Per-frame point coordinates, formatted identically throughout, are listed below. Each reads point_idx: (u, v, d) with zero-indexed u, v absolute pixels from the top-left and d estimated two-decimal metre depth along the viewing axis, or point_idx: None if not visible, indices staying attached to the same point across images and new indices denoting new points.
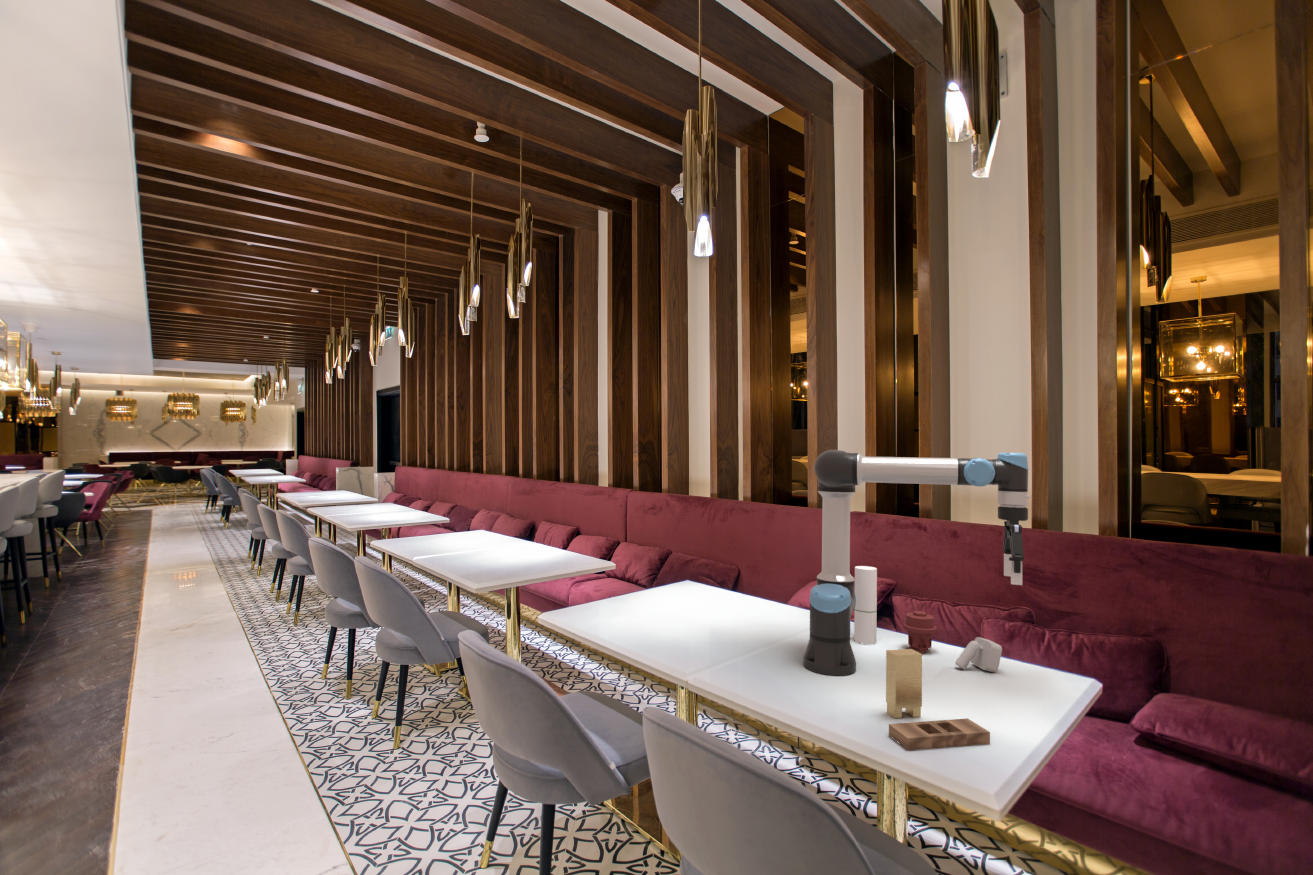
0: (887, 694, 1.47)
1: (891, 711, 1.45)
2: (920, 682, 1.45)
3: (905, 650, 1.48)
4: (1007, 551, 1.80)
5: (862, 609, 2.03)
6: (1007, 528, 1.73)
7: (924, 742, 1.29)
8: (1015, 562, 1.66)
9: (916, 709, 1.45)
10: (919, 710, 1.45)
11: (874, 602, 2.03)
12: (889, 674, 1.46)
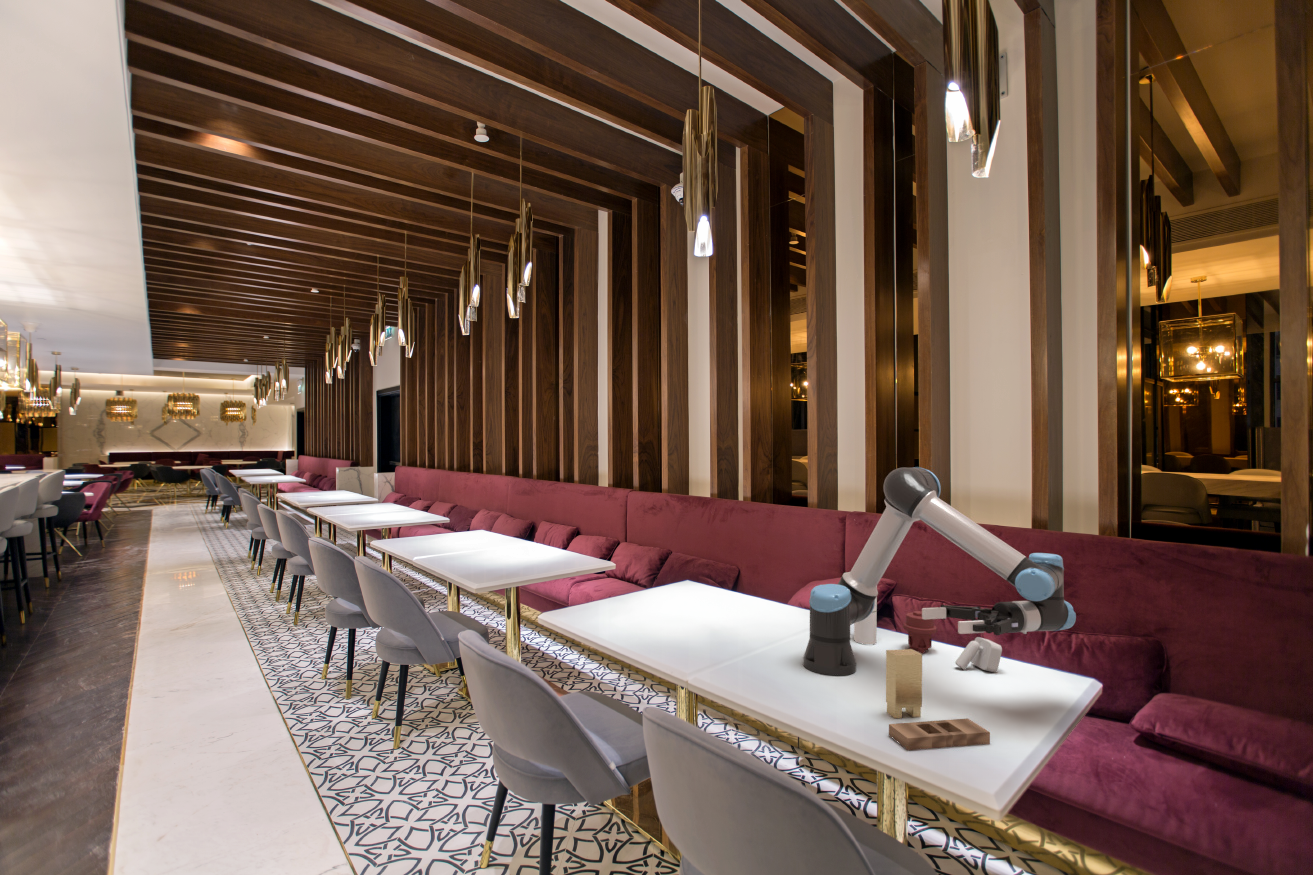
0: (887, 694, 1.47)
1: (891, 711, 1.45)
2: (920, 682, 1.45)
3: (905, 650, 1.48)
4: (946, 610, 1.57)
5: None
6: (998, 613, 1.50)
7: (924, 742, 1.29)
8: (986, 626, 1.42)
9: (916, 709, 1.45)
10: (919, 710, 1.45)
11: None
12: (889, 674, 1.46)
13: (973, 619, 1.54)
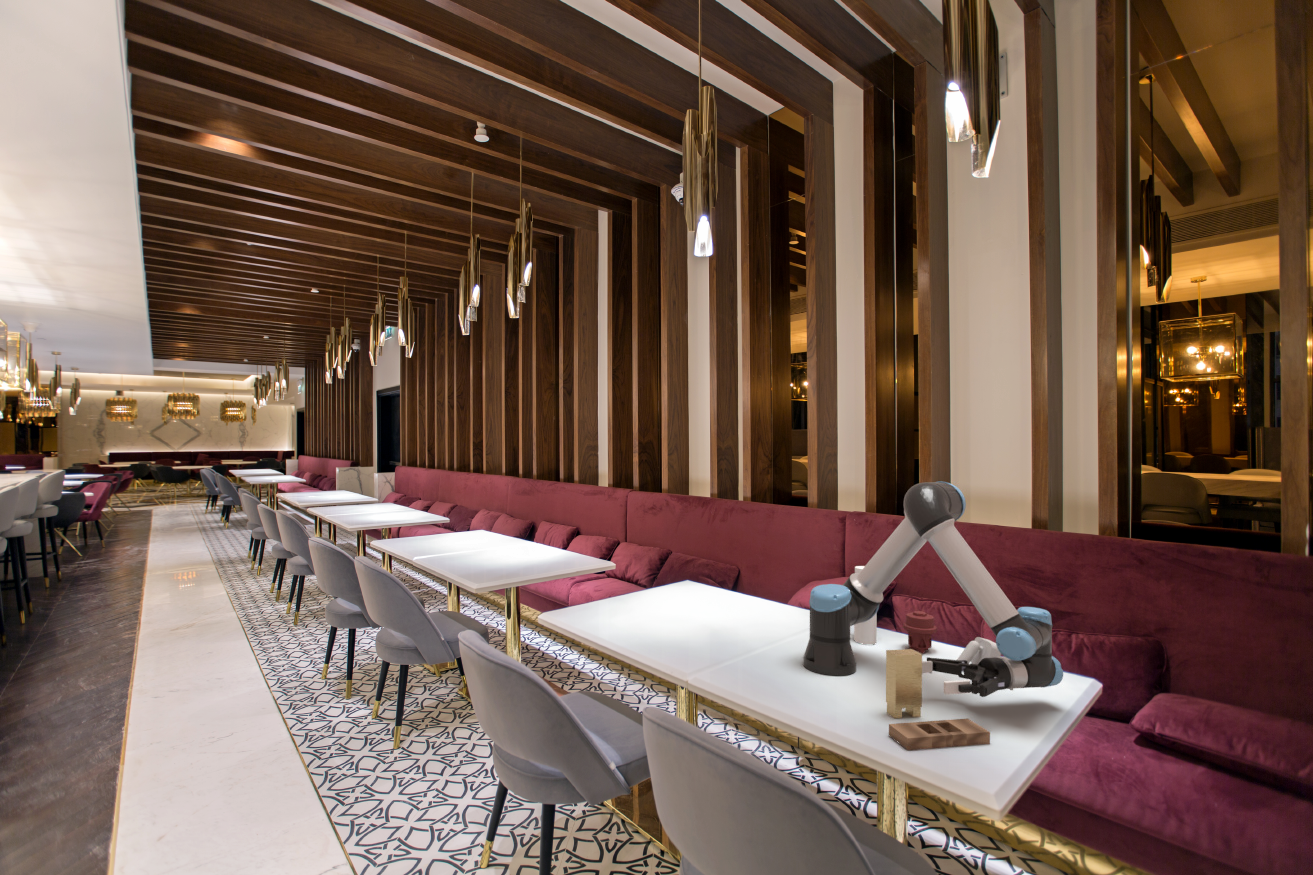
0: (887, 694, 1.47)
1: (891, 711, 1.45)
2: (920, 682, 1.45)
3: (905, 650, 1.48)
4: (933, 664, 1.55)
5: None
6: (985, 670, 1.48)
7: (924, 742, 1.29)
8: (972, 686, 1.40)
9: (916, 709, 1.45)
10: (919, 710, 1.45)
11: None
12: (889, 674, 1.46)
13: (959, 674, 1.52)
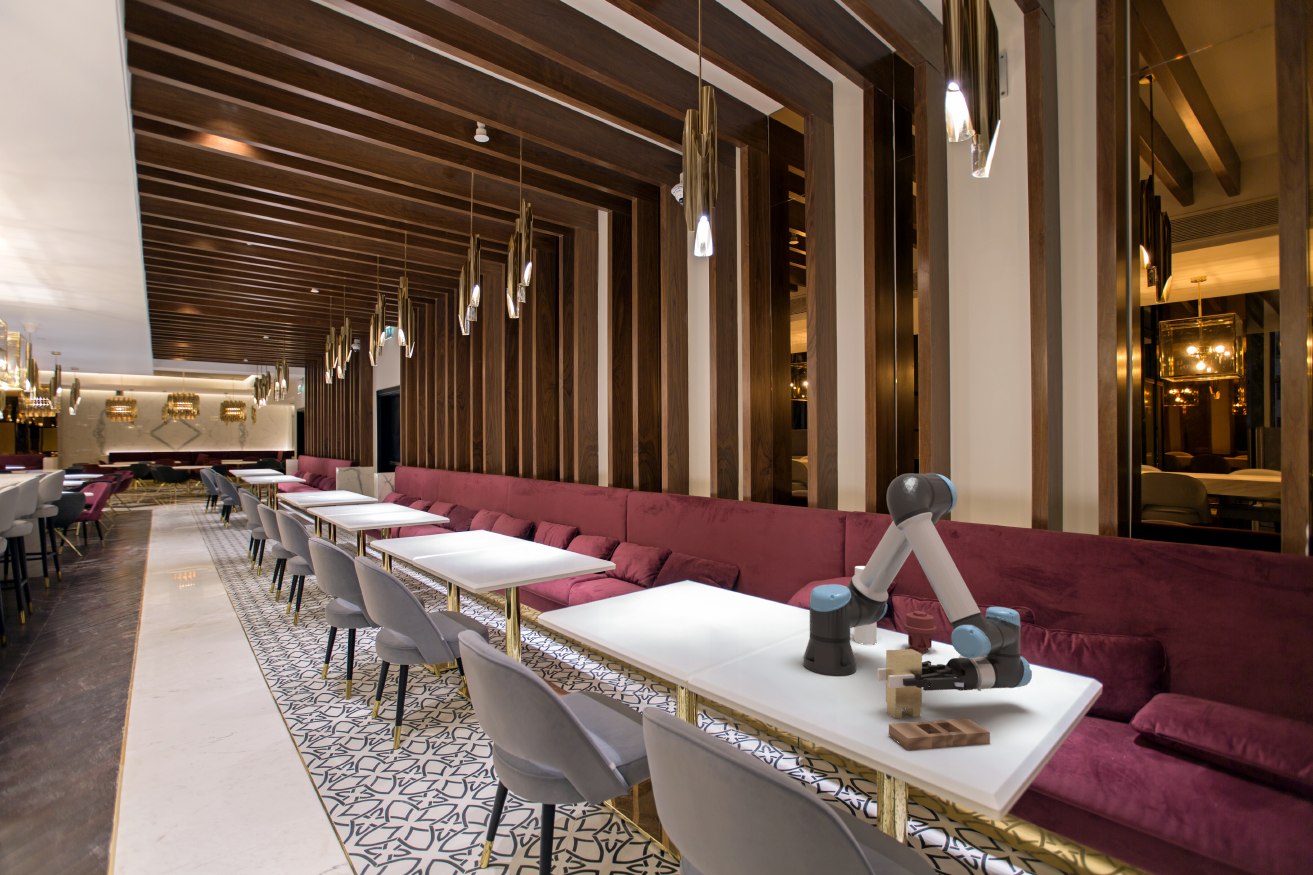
0: (887, 694, 1.47)
1: (891, 711, 1.45)
2: None
3: (905, 650, 1.48)
4: None
5: None
6: (950, 671, 1.47)
7: (924, 742, 1.29)
8: (916, 680, 1.43)
9: (916, 709, 1.45)
10: (919, 710, 1.45)
11: None
12: (889, 674, 1.46)
13: None
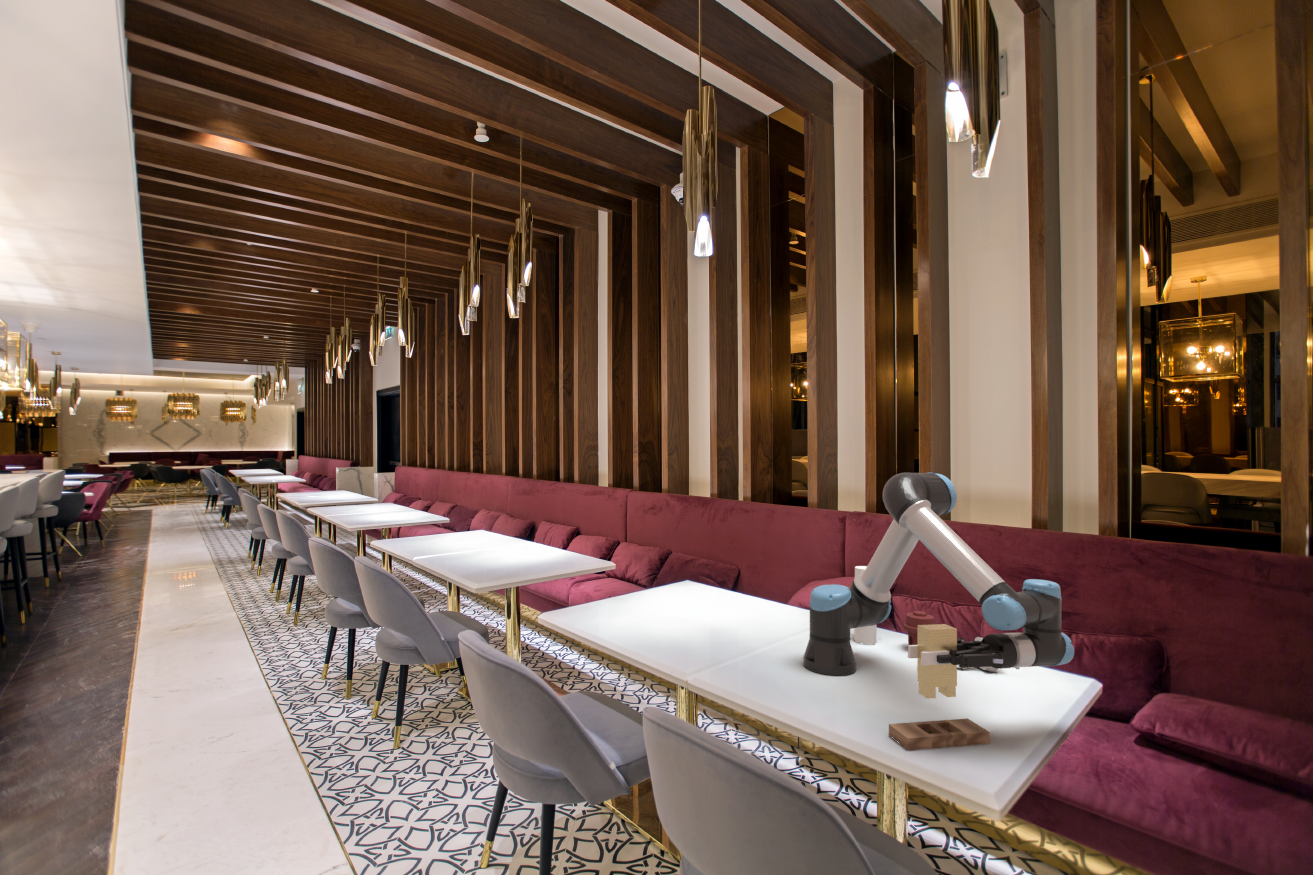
0: (919, 673, 1.36)
1: (924, 691, 1.34)
2: None
3: (938, 625, 1.37)
4: None
5: None
6: (987, 647, 1.35)
7: (924, 742, 1.29)
8: (951, 657, 1.31)
9: (951, 688, 1.34)
10: (953, 690, 1.34)
11: None
12: (921, 651, 1.35)
13: None
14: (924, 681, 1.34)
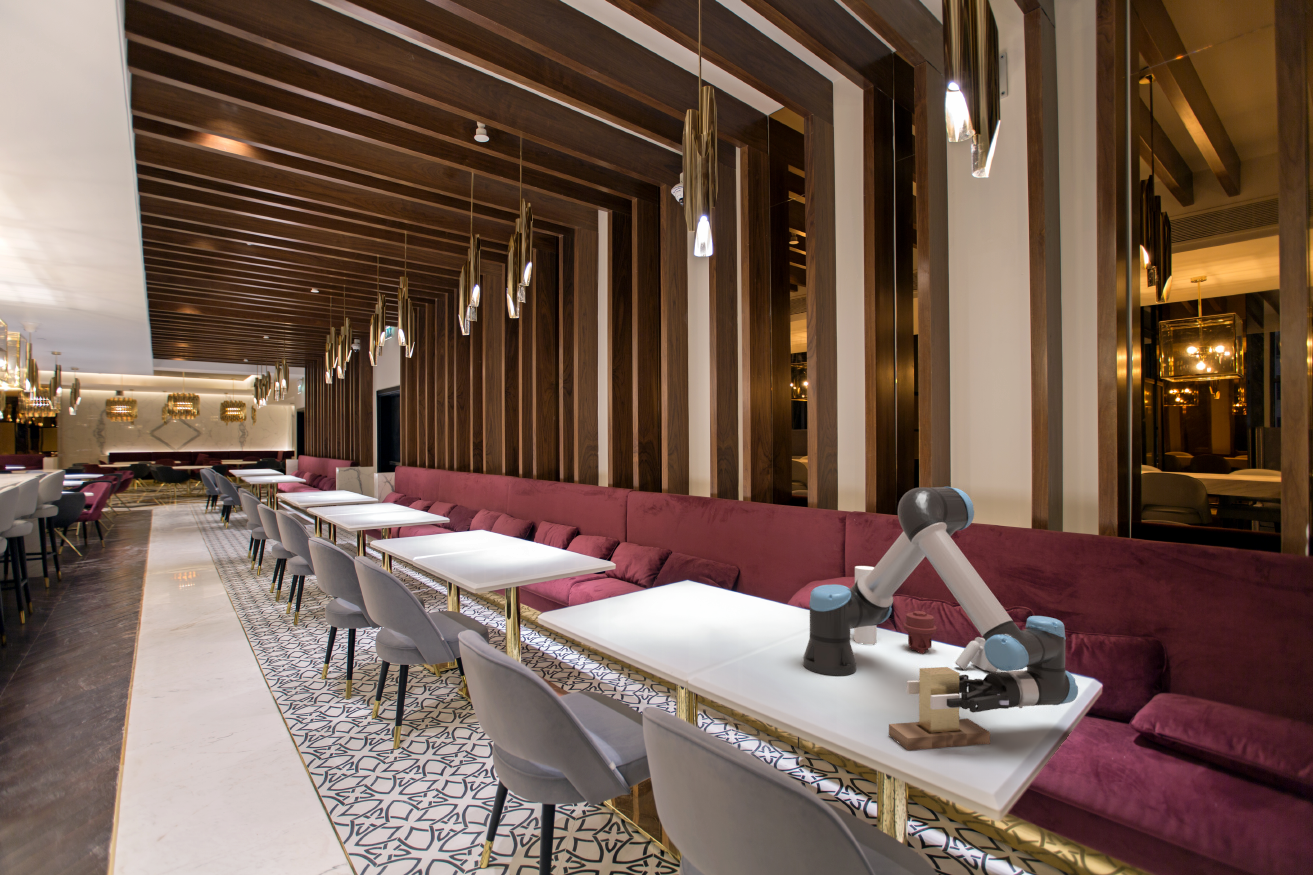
0: (920, 717, 1.34)
1: None
2: None
3: (940, 668, 1.35)
4: None
5: None
6: (990, 686, 1.34)
7: (924, 742, 1.29)
8: (962, 701, 1.28)
9: None
10: None
11: None
12: (923, 695, 1.33)
13: (964, 692, 1.37)
14: (926, 726, 1.32)
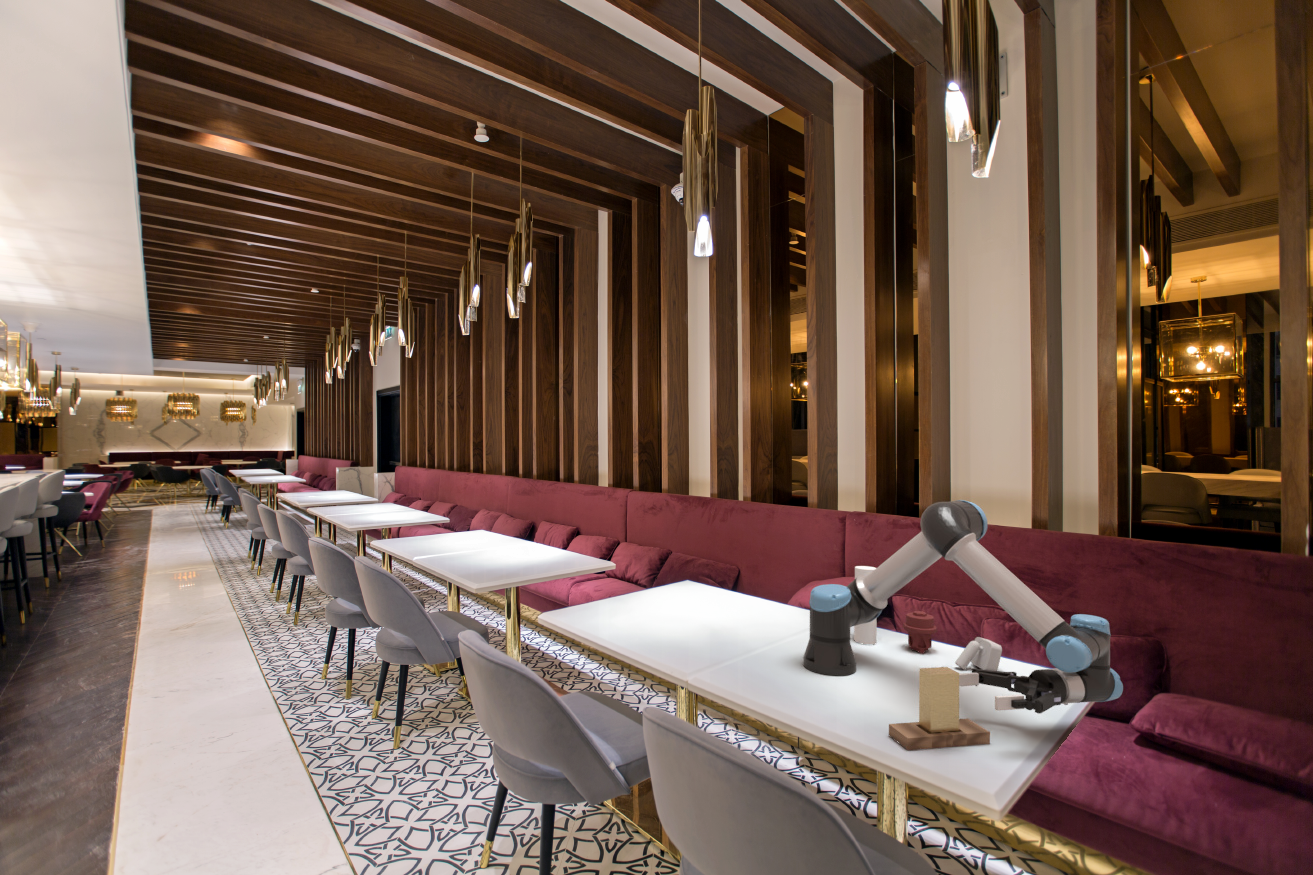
0: (920, 717, 1.34)
1: None
2: (957, 704, 1.32)
3: (940, 668, 1.35)
4: (979, 676, 1.44)
5: None
6: (1038, 683, 1.36)
7: (924, 742, 1.29)
8: (1026, 702, 1.28)
9: None
10: None
11: None
12: (923, 695, 1.33)
13: (1009, 687, 1.40)
14: (926, 726, 1.32)
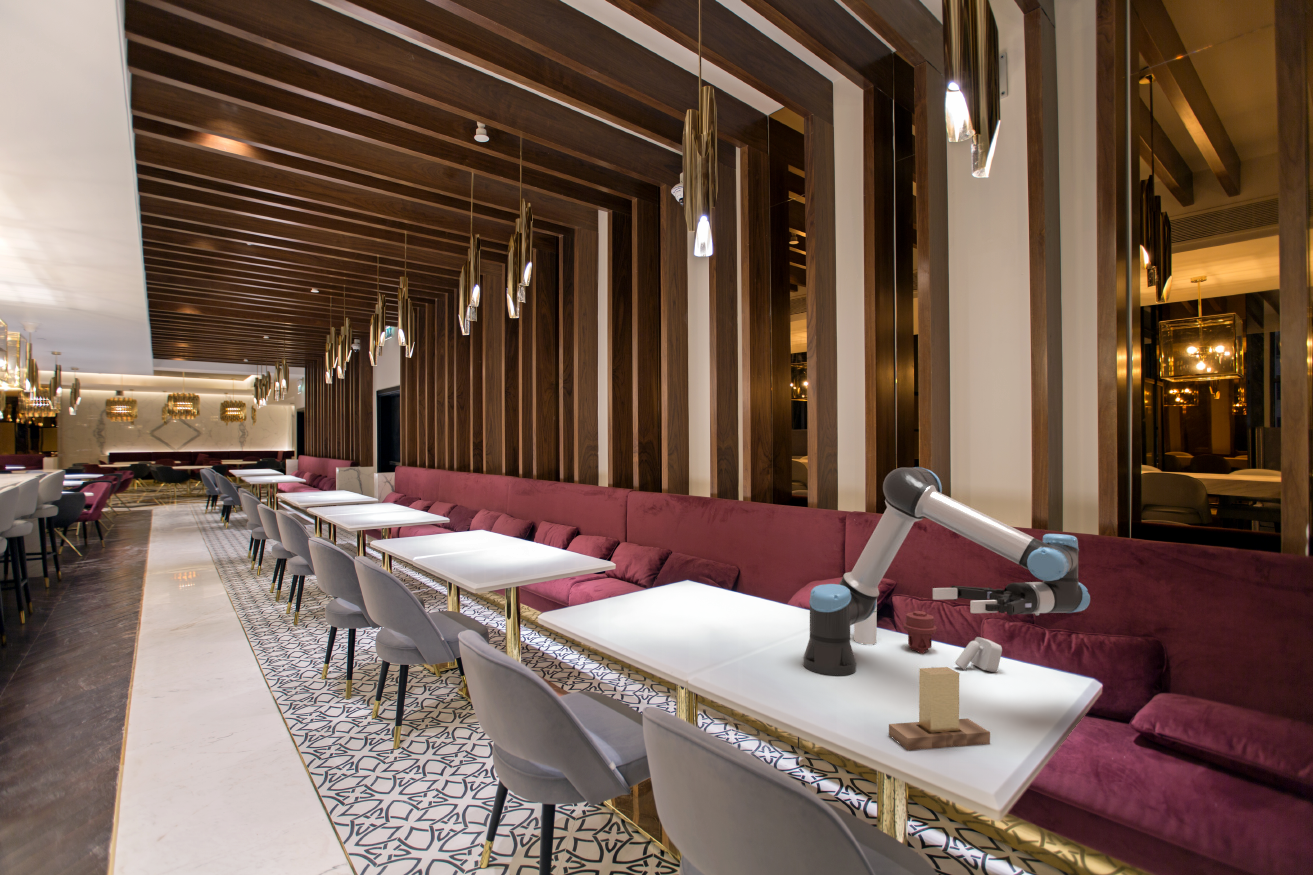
0: (920, 717, 1.34)
1: None
2: (957, 704, 1.32)
3: (940, 668, 1.35)
4: (957, 591, 1.55)
5: None
6: (1011, 593, 1.47)
7: (924, 742, 1.29)
8: (999, 605, 1.39)
9: None
10: None
11: None
12: (923, 695, 1.33)
13: (985, 600, 1.51)
14: (926, 726, 1.32)
